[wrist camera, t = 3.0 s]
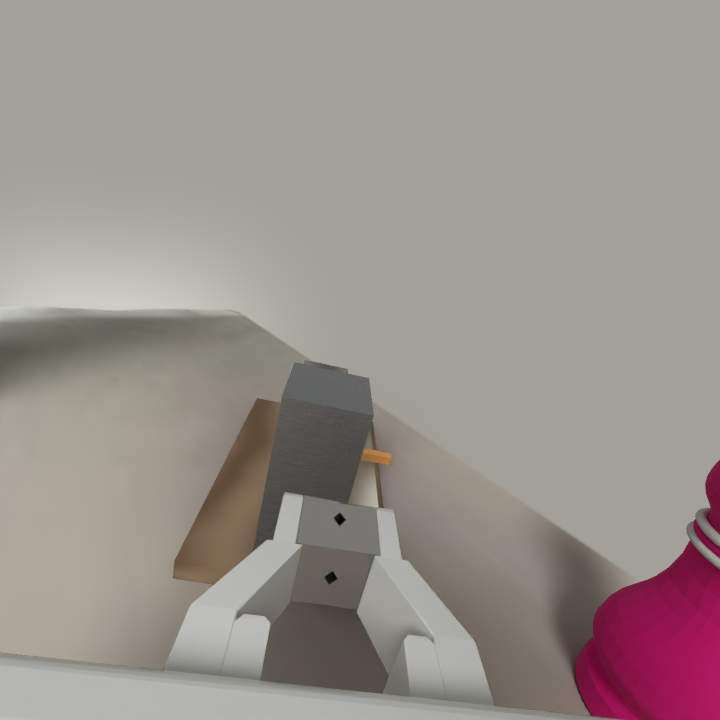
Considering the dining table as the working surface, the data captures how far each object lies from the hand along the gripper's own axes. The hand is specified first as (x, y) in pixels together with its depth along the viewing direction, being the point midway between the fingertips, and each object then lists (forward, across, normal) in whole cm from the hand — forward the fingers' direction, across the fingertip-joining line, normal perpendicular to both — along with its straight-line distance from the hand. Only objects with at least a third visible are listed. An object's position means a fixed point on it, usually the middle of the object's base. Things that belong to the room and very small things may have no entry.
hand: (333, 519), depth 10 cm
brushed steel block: (+15, 0, +14) cm, 20 cm away
